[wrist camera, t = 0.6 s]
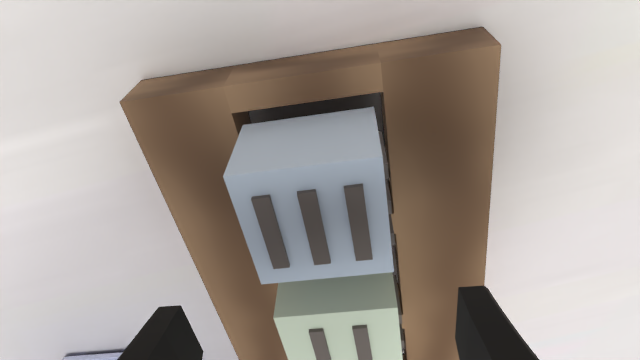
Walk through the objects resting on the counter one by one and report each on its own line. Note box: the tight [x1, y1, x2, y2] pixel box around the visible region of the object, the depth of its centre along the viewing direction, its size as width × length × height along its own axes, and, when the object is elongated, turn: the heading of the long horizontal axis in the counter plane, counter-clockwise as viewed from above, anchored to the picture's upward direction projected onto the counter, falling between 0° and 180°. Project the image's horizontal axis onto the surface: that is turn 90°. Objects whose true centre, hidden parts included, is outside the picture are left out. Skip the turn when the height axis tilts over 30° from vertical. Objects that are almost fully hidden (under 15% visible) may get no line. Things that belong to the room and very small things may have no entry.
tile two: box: [273, 272, 405, 360], centre depth 20 cm, size 5×5×4 cm
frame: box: [120, 27, 501, 360], centre depth 22 cm, size 14×22×2 cm, turn 10°
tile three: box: [223, 107, 395, 284], centre depth 16 cm, size 5×5×4 cm
